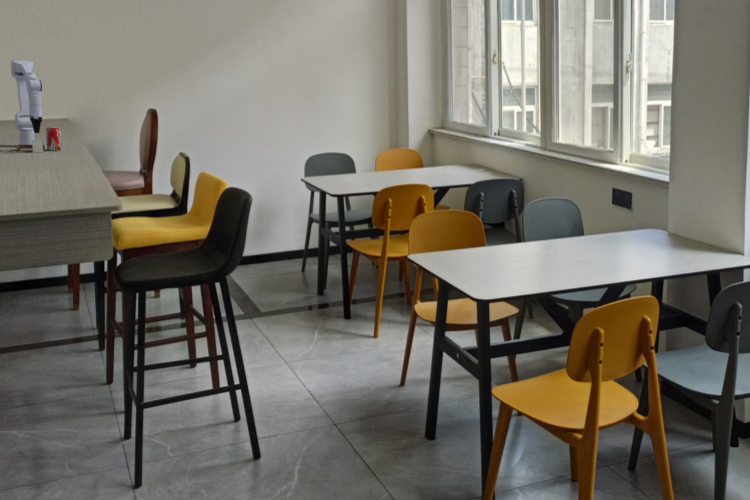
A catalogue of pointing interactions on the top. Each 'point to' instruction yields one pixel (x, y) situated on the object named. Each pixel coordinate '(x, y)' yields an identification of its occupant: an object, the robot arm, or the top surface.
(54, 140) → the soda can
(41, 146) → the block
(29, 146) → the tray
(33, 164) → the top surface
